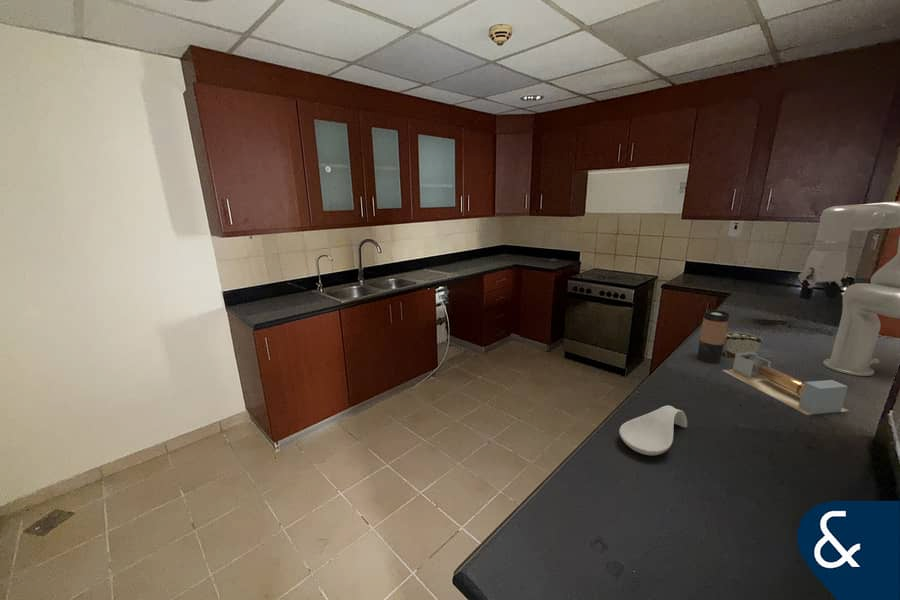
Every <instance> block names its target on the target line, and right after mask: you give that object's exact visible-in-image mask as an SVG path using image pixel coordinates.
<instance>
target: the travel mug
mask: <svg viewBox="0 0 900 600" xmlns="http://www.w3.org/2000/svg"><path fill="white" fill-rule="evenodd" d="M729 317H730V314H729V312H726V311H723V310H722V311H721V310H716V309H715V310H714V309H708V310H706V311H704V314H703V319H702V324H701V328H700V329H701V330H700V331H701V332H700V336H699V343H698V351H697V359H698V360H699V361H701V362H702V363H707V364H716V365H717V364H720V363H721V359H722V355H723V350H724V348H725V347H724V346H725V343H726V339H725V336H726V333H727V329H728V325H729V324H728V323H729Z"/></svg>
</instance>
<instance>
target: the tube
mask: <svg viewBox="0 0 900 600" xmlns="http://www.w3.org/2000/svg"><path fill="white" fill-rule="evenodd" d="M758 374H759V376H761V377H763V378H765V379H767V380H769V381H771V382H774V383H776V384H778V385H780V386H782V387H784V388H786V389H788V390H790V391H792V392H794V393H796V394H798V395H800V396H801V395H802V391H803V387H804V383H805V381H801V380H799V379H798V378H795V377H794V376H791V375H789V374H786V373H784V372H781V371H779V370H777V369H774V368H772V367H771V366H770V367H768V366H762V367H761V368H760V369H759V371H758Z"/></svg>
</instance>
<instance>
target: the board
mask: <svg viewBox="0 0 900 600" xmlns="http://www.w3.org/2000/svg"><path fill="white" fill-rule="evenodd" d="M722 372H724V373H726V374H728V375H730V376H732V377H734V378H736V379H738V380H739V381H742V382H744V383H746V384H747V385H749V386H751V387H752V388H755V389H757V390H758V391H760V392H763V393H765V394H766V395H769V396H770V397H772V398H774V399H776V400H778V401H779V402H781V403H784V404H785V405H787V406H789V407H791V408H793V409H795V410H797V411H798V412H801V413H802V414H803V415H807V416H808V415H813V414H812V413H810V412H808V411H806V410H804V409H802V408H800V407H799V403H800V399H801V396H800V395H798V394H796V393H794V392H792V391H790V390H788V389H786V388H784V387H782V386H780V385H778V384H776V383H774V382H771V381H769V380H767V379H754V380H750V379H748V378H746V377H744V376H742V375H740V374H738V373H736V372H734V371H733V368H732V369H722ZM841 412H842V413H843V412H850V410H849V409H848V408H845V407H843V406H842V409H841ZM830 413H831V414H832V413H833V412H830ZM830 413H829V414H830ZM819 414H822V413H819ZM819 414H818V415H819Z"/></svg>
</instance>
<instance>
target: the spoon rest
mask: <svg viewBox="0 0 900 600" xmlns="http://www.w3.org/2000/svg"><path fill="white" fill-rule="evenodd" d="M674 425H677V426H679V427H682V428H687V427H688V420H687V416H686V414H685V412H684V411H683V410H682V409H681V410H680V409H677V408H675V407H674V406H672V405H664V406H661V407H659V408H658V409H655V410H653V411H650V412H649V413H645V414H643V415H641V416H638V417H635V418H633V419H629V420H627V421H626V422H624V423H622V424H621V426H620V427H619V430H618V433H619V436H620V438H621V440H622V441H623V442H624V444H625V445H626V446H627V447H629V448H630V449H632V450H633V451H634V452H636V453H639V454H641V455H645V456H658V455H662V454H664V453H666V452H667V451H668V450H669V449H670V448H671V446H672V444H673V441H674V427H675V426H674Z"/></svg>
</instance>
